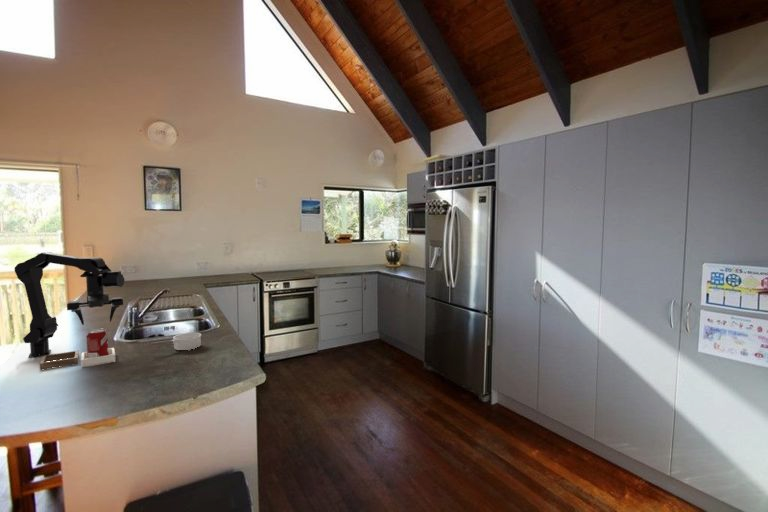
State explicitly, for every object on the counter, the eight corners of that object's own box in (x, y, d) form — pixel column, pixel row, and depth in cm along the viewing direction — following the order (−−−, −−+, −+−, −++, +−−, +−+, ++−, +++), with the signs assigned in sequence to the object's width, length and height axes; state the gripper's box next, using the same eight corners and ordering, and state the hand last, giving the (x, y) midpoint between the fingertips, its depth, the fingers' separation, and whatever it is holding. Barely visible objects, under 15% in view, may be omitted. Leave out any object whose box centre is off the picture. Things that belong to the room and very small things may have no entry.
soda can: (97, 363, 145) (95, 333, 144) (83, 361, 146) (81, 332, 145) (112, 357, 152) (111, 328, 151) (99, 356, 153) (98, 327, 152)
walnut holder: (43, 361, 147) (42, 355, 147) (78, 356, 154) (78, 350, 154) (40, 370, 139) (39, 363, 138) (78, 363, 145) (77, 357, 145)
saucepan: (147, 352, 159) (147, 340, 159) (196, 342, 174) (195, 331, 174) (156, 359, 152) (156, 346, 151) (206, 347, 167) (205, 335, 166)
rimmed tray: (82, 359, 150) (81, 352, 150) (114, 354, 156) (114, 347, 156) (81, 367, 142) (81, 360, 141) (115, 361, 148) (115, 354, 148)
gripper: (65, 292, 144) (67, 331, 145) (123, 287, 156) (124, 323, 157) (66, 288, 153) (68, 325, 154) (121, 284, 164) (123, 318, 166)
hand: (97, 323), depth 157 cm, fingers open, 9 cm apart
